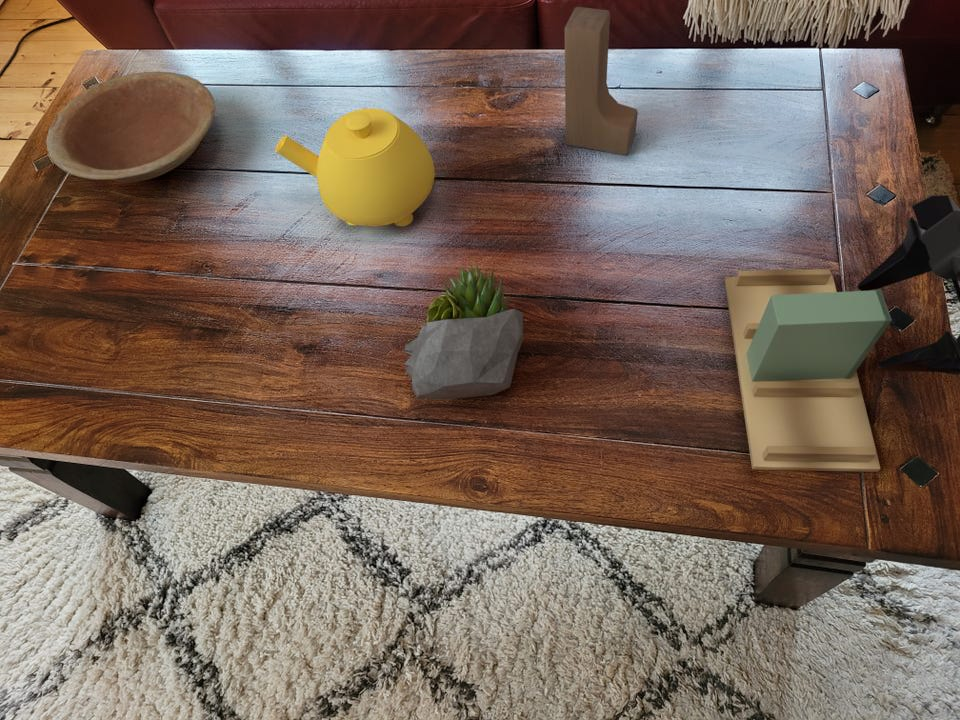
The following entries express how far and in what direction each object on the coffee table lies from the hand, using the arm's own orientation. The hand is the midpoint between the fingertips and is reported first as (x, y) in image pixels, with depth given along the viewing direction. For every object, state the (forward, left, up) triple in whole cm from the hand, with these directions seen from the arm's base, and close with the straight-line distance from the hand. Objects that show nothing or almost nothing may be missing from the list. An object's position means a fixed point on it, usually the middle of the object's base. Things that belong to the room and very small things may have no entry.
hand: (869, 326), depth 67 cm
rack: (+5, 0, -8) cm, 10 cm away
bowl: (+92, -37, -9) cm, 99 cm away
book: (+5, 0, -8) cm, 9 cm away
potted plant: (+41, -1, -9) cm, 42 cm away
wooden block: (+25, -37, -9) cm, 46 cm away
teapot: (+57, -27, -9) cm, 63 cm away
